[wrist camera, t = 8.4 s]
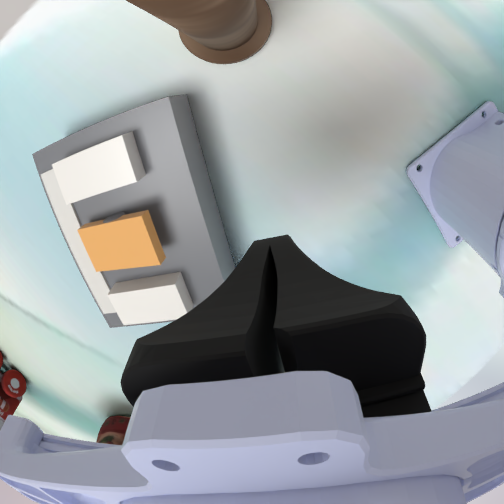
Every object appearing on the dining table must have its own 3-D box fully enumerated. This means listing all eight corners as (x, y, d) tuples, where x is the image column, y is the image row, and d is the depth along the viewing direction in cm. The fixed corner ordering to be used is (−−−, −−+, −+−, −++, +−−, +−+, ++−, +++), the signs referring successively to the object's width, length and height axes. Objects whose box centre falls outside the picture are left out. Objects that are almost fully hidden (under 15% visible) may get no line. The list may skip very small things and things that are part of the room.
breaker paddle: (153, 204, 17) (141, 215, 16) (170, 251, 19) (160, 265, 17) (90, 219, 19) (77, 229, 17) (107, 259, 20) (96, 271, 19)
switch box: (186, 94, 18) (160, 97, 14) (239, 280, 25) (232, 327, 20) (64, 141, 20) (19, 159, 15) (127, 297, 26) (103, 339, 21)
